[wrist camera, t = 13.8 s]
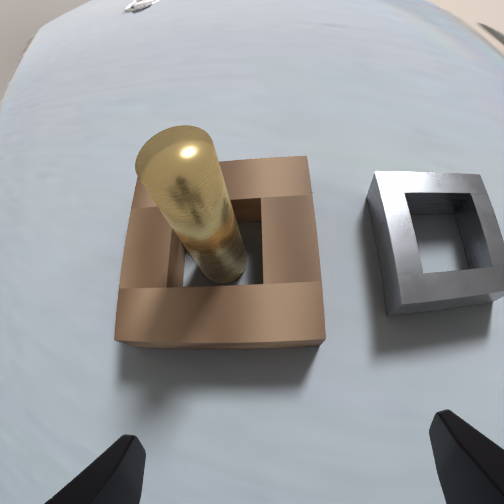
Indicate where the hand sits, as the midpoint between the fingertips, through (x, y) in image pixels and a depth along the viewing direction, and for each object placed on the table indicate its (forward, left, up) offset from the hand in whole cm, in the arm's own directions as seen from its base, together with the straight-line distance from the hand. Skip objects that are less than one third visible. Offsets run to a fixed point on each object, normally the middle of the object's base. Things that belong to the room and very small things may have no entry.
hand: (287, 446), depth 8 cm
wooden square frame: (-4, +10, -11) cm, 15 cm away
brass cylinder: (-4, +10, -11) cm, 15 cm away
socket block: (+11, +10, -11) cm, 18 cm away
